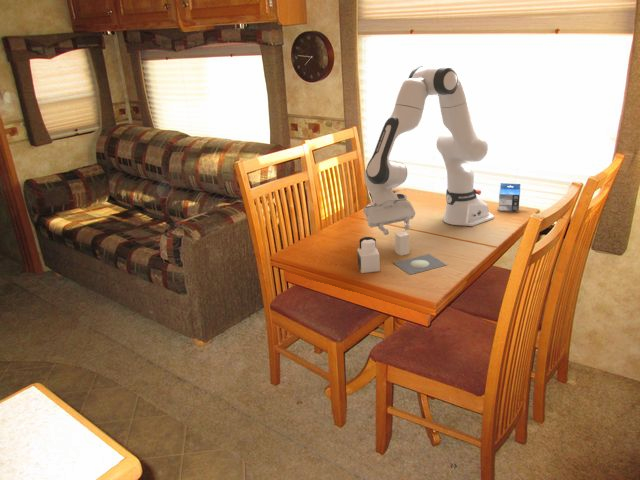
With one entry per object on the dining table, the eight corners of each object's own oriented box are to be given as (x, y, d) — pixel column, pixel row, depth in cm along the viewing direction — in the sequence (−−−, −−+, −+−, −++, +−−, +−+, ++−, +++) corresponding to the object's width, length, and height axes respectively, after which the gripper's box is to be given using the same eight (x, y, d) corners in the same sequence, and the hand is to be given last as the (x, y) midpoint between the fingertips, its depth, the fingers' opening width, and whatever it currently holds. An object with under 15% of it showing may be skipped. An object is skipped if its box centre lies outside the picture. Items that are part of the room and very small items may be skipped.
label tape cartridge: (498, 211, 244) (499, 185, 240) (498, 208, 248) (500, 183, 243) (518, 212, 241) (520, 186, 236) (518, 209, 244) (520, 183, 240)
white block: (404, 250, 211) (404, 231, 208) (409, 253, 207) (409, 234, 204) (395, 252, 209) (395, 233, 206) (400, 255, 206) (400, 236, 203)
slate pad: (429, 254, 205) (429, 253, 205) (447, 265, 195) (447, 264, 195) (393, 263, 200) (393, 262, 200) (409, 274, 190) (409, 274, 190)
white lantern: (357, 265, 200) (356, 236, 196) (376, 263, 201) (375, 234, 196) (360, 273, 194) (359, 243, 189) (380, 271, 194) (379, 241, 190)
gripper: (364, 202, 207) (376, 233, 202) (409, 193, 214) (422, 223, 209) (359, 210, 212) (371, 240, 208) (403, 201, 219) (416, 230, 214)
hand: (397, 231), depth 208 cm, fingers open, 8 cm apart
